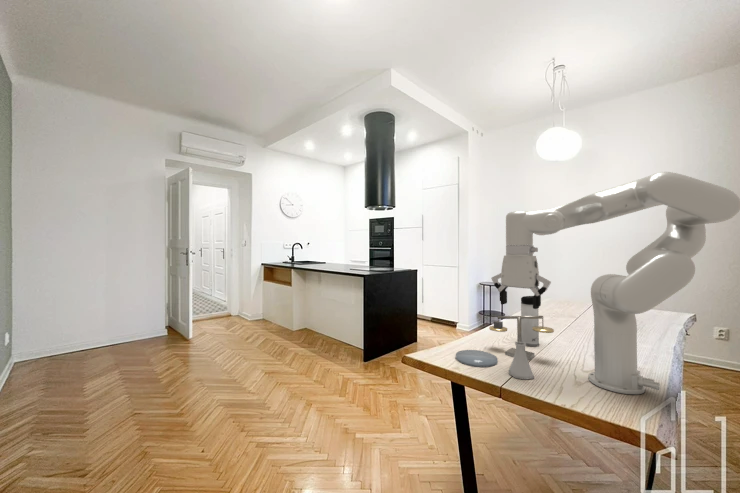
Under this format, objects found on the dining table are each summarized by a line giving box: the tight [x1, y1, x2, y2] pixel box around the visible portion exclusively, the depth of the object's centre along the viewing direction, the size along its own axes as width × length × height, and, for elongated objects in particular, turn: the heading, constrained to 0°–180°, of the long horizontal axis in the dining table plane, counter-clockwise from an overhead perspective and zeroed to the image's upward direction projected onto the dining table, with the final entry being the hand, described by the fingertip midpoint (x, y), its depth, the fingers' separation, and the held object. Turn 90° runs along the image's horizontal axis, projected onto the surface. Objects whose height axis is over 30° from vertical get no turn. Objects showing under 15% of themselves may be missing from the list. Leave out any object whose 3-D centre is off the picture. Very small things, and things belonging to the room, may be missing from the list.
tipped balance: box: [488, 315, 555, 361], centre depth 109 cm, size 22×6×16 cm, turn 42°
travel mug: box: [520, 295, 540, 348], centre depth 121 cm, size 6×7×20 cm
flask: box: [508, 341, 535, 380], centre depth 92 cm, size 7×7×10 cm
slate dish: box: [455, 349, 499, 368], centre depth 106 cm, size 14×14×1 cm
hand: (519, 306), depth 93 cm, fingers open, 9 cm apart
